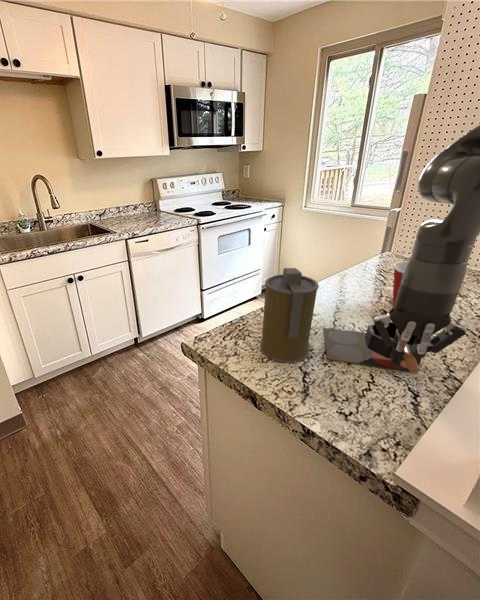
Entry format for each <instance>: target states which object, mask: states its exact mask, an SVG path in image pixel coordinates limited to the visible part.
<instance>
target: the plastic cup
mask: <svg viewBox="0 0 480 600" xmlns="http://www.w3.org/2000/svg"><path fill="white" fill-rule="evenodd" d="M407 262H408V261H398V262H397V261H396V262H394V263H393V264H392V267H393V285H392V308H393V307H394V305H395V301H396V297H397V294H398V290H399V287H400V283H401V280H402V278H401V277H402V274H403V272H404V269H405V266H406V264H407Z"/></svg>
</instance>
